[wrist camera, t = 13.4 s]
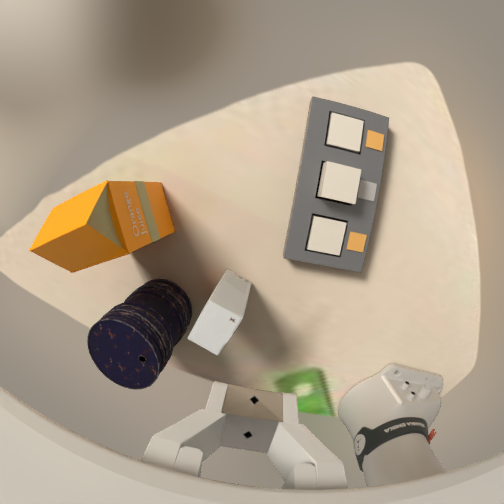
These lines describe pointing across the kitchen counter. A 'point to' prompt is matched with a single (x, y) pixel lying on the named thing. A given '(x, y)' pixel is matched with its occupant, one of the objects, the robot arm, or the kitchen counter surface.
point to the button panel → (352, 214)
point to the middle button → (339, 182)
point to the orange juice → (104, 224)
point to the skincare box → (221, 313)
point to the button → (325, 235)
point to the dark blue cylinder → (140, 334)
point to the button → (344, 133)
